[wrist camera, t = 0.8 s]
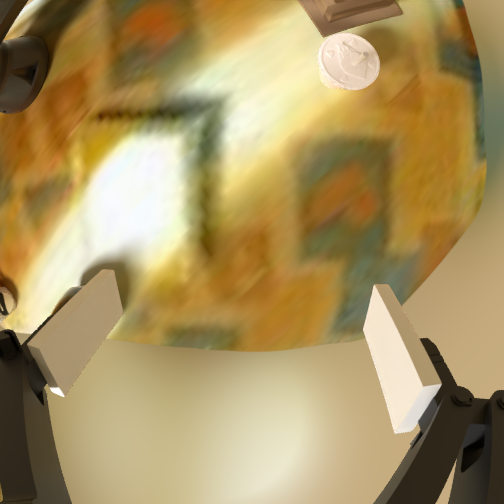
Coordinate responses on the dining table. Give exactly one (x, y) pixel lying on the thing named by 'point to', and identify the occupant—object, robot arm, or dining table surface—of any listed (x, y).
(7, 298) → the mug
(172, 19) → the dining table surface
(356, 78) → the smoothie
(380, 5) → the box
